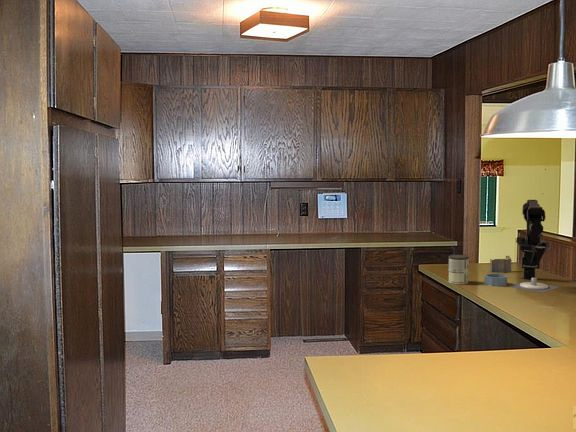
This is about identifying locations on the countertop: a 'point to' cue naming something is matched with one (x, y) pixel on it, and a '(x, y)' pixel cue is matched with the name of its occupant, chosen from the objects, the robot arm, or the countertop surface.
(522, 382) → the countertop surface
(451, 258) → the coffee can
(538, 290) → the mat
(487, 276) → the bowl
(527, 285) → the lid
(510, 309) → the countertop surface
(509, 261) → the architectural model on board
